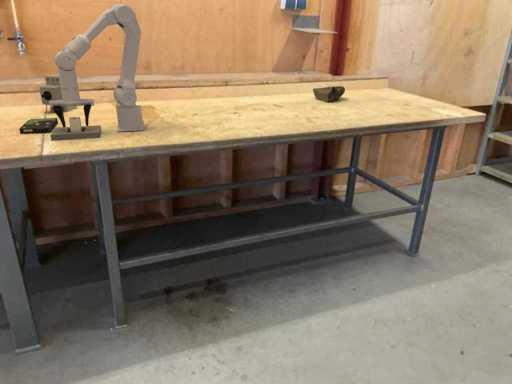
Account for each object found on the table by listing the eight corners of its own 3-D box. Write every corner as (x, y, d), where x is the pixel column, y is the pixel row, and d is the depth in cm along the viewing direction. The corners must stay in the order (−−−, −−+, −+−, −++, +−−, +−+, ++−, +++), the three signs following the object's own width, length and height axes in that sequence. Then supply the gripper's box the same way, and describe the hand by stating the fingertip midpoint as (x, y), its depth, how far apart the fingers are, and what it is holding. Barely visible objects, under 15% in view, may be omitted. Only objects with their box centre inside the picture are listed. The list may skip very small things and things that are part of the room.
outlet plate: (101, 130, 158) (100, 125, 157) (99, 137, 149) (99, 132, 148) (55, 132, 154) (54, 127, 153) (51, 140, 145) (50, 135, 144)
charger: (82, 133, 153) (79, 116, 151) (81, 135, 150) (79, 118, 148) (72, 133, 152) (69, 117, 150) (71, 136, 149) (68, 119, 147)
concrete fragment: (307, 94, 220) (325, 75, 224) (317, 109, 225) (334, 91, 228) (324, 92, 207) (342, 72, 211) (334, 108, 212) (352, 89, 216)
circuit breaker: (41, 113, 180) (34, 78, 174) (62, 107, 192) (57, 73, 186) (56, 115, 178) (50, 79, 172) (77, 108, 191) (71, 74, 185)
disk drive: (51, 134, 154) (58, 124, 167) (49, 127, 152) (57, 117, 166) (20, 136, 151) (30, 125, 164) (18, 128, 150) (29, 118, 163)
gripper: (45, 90, 139) (52, 130, 145) (91, 89, 143) (96, 127, 148) (48, 86, 145) (55, 125, 151) (92, 85, 149) (97, 122, 155)
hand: (75, 126), depth 150 cm, fingers open, 7 cm apart
